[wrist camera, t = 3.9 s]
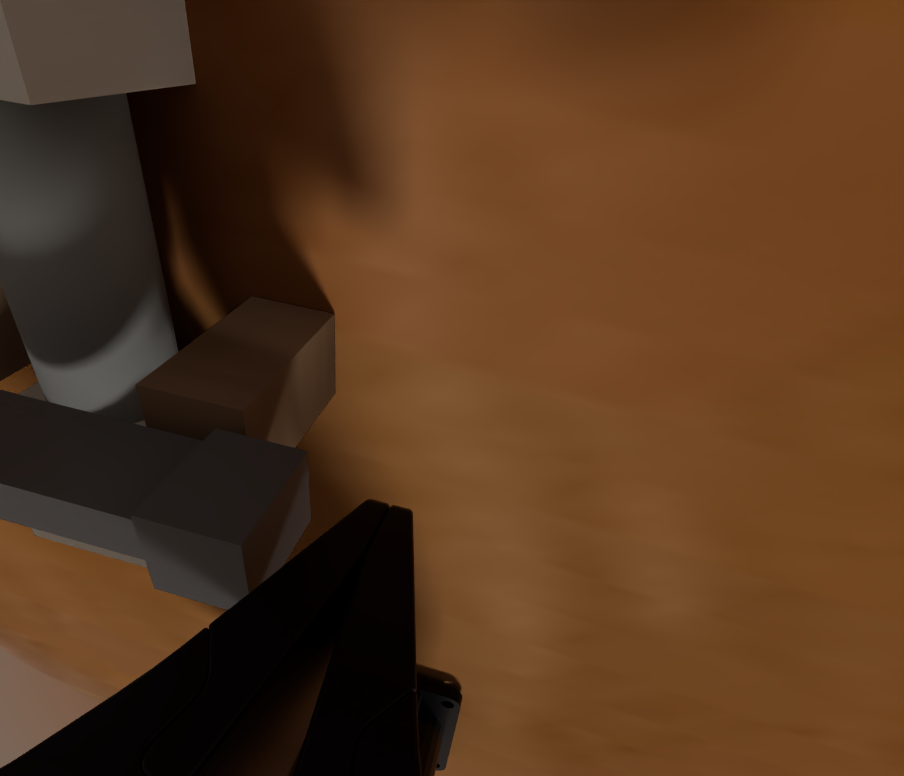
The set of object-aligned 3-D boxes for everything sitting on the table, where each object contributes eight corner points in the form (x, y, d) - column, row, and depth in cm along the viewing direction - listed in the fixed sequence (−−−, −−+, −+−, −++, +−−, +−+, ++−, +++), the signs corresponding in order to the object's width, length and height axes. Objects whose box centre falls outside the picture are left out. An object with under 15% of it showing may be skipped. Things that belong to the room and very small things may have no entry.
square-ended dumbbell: (249, 472, 17) (168, 574, 14) (137, 443, 18) (34, 535, 15) (159, -191, 9) (-94, -318, 6) (-49, -212, 9) (-390, -339, 6)
